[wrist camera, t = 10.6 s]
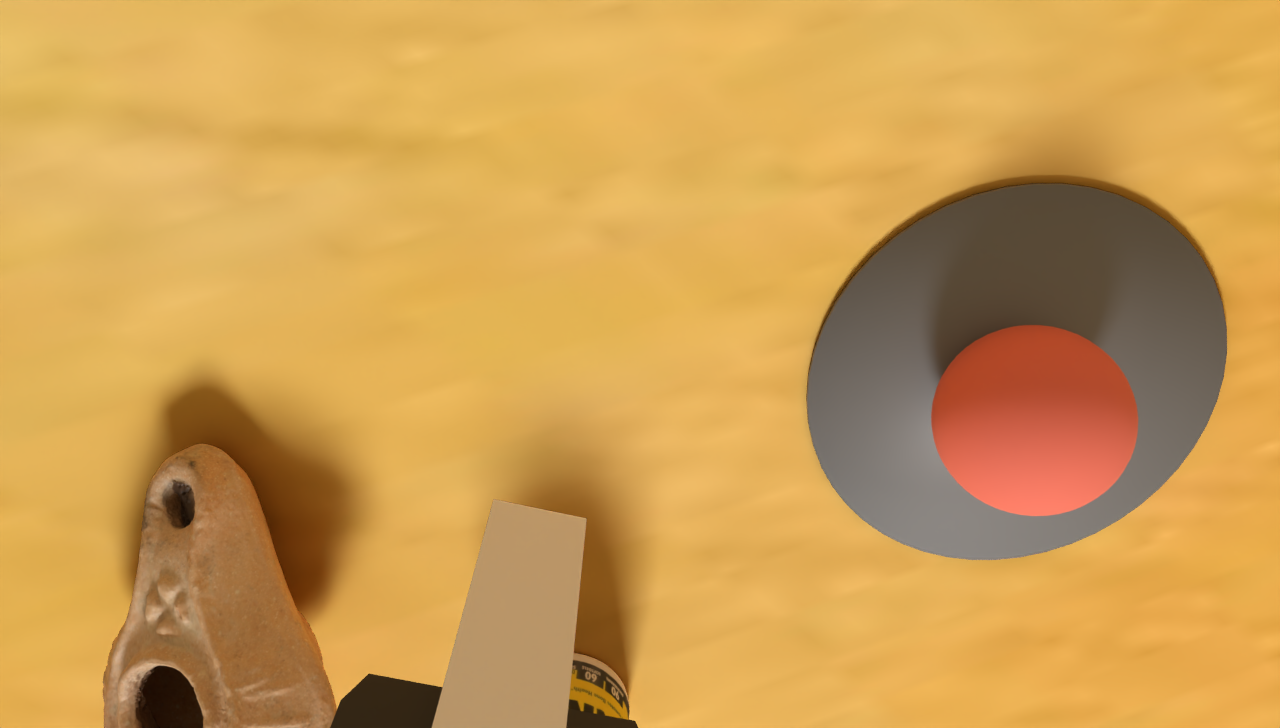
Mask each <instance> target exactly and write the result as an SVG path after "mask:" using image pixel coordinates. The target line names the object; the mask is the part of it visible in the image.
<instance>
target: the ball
mask: <svg viewBox="0 0 1280 728" xmlns="http://www.w3.org/2000/svg"><path fill="white" fill-rule="evenodd" d="M931 426H932V432H933V438H934V442H935V445H936V448H937V451H938V454H939V456H940V458H941V460H942V462H943V463H944V465H945V467H946V468H947V470H948V471H949V473H950V474H951V475H952V476H953V478H954V479H955V480H956V481H957V482H958V483H959V484H960V485H961V486H962V487H963V488H964V489H965V490H966V491H967V492H969V493H970V494H971V495H973V496H974V497H975V498H977V499H979V500H980V501H982V502H984V503H985V504H988V505H990V506H992V507H994V508H997V509H999V510H1003V511H1006V512H1009V513H1014V514H1019V515H1027V516H1048V515H1055V514H1061V513H1065V512H1069V511H1072V510H1074V509H1077V508H1080V507H1082V506H1084V505H1086V504H1088V503H1089V502H1091V501H1093V500H1095V499H1096V498H1098V497H1099V496H1100V495H1102V494H1103V493H1104V492H1106V491H1107V490H1108V489H1109V488H1110V487H1111V486H1112V485H1113V484H1114V483H1115V482H1116V481H1117V480H1118V478H1119V477H1120V476H1121V474H1122V473H1123V471H1124V470H1125V468H1126V466H1127V464H1128V462H1129V461H1130V459H1131V456H1132V454H1133V451H1134V448H1135V444H1136V439H1137V433H1138V412H1137V405H1136V401H1135V398H1134V394H1133V392H1132V389H1131V387H1130V385H1129V382H1128V380H1127V378H1126V377H1125V375H1124V373H1123V372H1122V370H1121V369H1120V367H1119V366H1118V365H1117V364H1116V363H1115V361H1114V360H1113V359H1112V358H1111V357H1110V356H1109V355H1108V354H1107V353H1105V352H1104V351H1103V350H1102V349H1101V348H1099V347H1098V346H1097V345H1095V344H1094V343H1092V342H1091V341H1089V340H1087V339H1086V338H1084V337H1082V336H1080V335H1078V334H1075V333H1073V332H1070V331H1067V330H1064V329H1060V328H1056V327H1052V326H1043V325H1022V326H1013V327H1009V328H1005V329H1001V330H998V331H995V332H993V333H990V334H987V335H985V336H984V337H982V338H980V339H978V340H976V341H974V342H973V343H972V344H970V345H969V346H967V347H966V348H965V349H964V350H963V351H961V352H960V353H959V354H958V355H957V356H956V357H955V359H954V360H953V361H952V362H951V363H950V365H949V366H948V367H947V369H946V370H945V372H944V374H943V375H942V377H941V379H940V381H939V383H938V386H937V388H936V392H935V395H934V399H933V404H932V412H931Z"/></svg>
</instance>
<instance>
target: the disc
mask: <svg viewBox="0 0 1280 728" xmlns="http://www.w3.org/2000/svg"><path fill="white" fill-rule="evenodd" d="M1022 325H1043V326H1052V327H1056V328H1060V329H1064V330H1067V331H1070V332H1073V333H1075V334H1078V335H1080V336H1082V337H1084V338H1086V339H1087V340H1089V341H1091V342H1092V343H1094V344H1095V345H1097V346H1098V347H1099V348H1101V349H1102V350H1103V351H1104V352H1105V353H1107V354H1108V355H1109V356H1110V357H1111V358H1112V359H1113V360H1114V361H1115V363H1116V364H1117V365H1118V366H1119V367H1120V369H1121V370H1122V372H1123V373H1124V375H1125V377H1126V378H1127V380H1128V382H1129V385H1130V387H1131V389H1132V392H1133V394H1134V398H1135V401H1136V405H1137V412H1138V433H1137V439H1136V444H1135V448H1134V451H1133V454H1132V456H1131V459H1130V461H1129V462H1128V464H1127V466H1126V468H1125V470H1124V471H1123V473H1122V474H1121V476H1120V477H1119V478H1118V480H1117V481H1116V482H1115V483H1114V484H1113V485H1112V486H1111V487H1110V488H1109V489H1108V490H1107V491H1106V492H1104V493H1103V494H1102V495H1100V496H1099V497H1098V498H1096V499H1095V500H1093V501H1091V502H1089V503H1088V504H1086V505H1084V506H1082V507H1080V508H1077V509H1074V510H1072V511H1069V512H1065V513H1061V514H1055V515H1048V516H1027V515H1019V514H1014V513H1009V512H1006V511H1003V510H999V509H997V508H994V507H992V506H990V505H988V504H985V503H984V502H982V501H980V500H979V499H977V498H975V497H974V496H973V495H971V494H970V493H969V492H967V491H966V490H965V489H964V488H963V487H962V486H961V485H960V484H959V483H958V482H957V481H956V480H955V479H954V478H953V476H952V475H951V474H950V473H949V471H948V470H947V468H946V467H945V465H944V463H943V462H942V460H941V458H940V456H939V454H938V451H937V448H936V445H935V442H934V438H933V432H932V426H931V412H932V404H933V399H934V395H935V392H936V388H937V386H938V383H939V381H940V379H941V377H942V375H943V374H944V372H945V370H946V369H947V367H948V366H949V365H950V363H951V362H952V361H953V360H954V359H955V357H956V356H957V355H958V354H959V353H960V352H961V351H963V350H964V349H965V348H966V347H967V346H969V345H970V344H972V343H973V342H974V341H976V340H978V339H980V338H982V337H984V336H985V335H987V334H990V333H993V332H995V331H998V330H1001V329H1005V328H1009V327H1013V326H1022ZM1226 355H1227V327H1226V321H1225V316H1224V310H1223V304H1222V301H1221V298H1220V295H1219V292H1218V289H1217V286H1216V284H1215V281H1214V279H1213V277H1212V275H1211V273H1210V271H1209V269H1208V268H1207V266H1206V264H1205V262H1204V260H1203V259H1202V257H1201V256H1200V255H1199V253H1198V252H1197V251H1196V250H1195V248H1194V247H1193V246H1192V245H1191V243H1190V242H1189V241H1188V240H1187V238H1185V237H1184V236H1183V235H1182V234H1181V233H1180V232H1179V231H1178V230H1177V229H1176V228H1174V227H1173V226H1172V225H1171V224H1170V223H1169V222H1168V221H1166V220H1165V219H1163V218H1162V217H1160V216H1159V215H1157V214H1155V213H1154V212H1152V211H1151V210H1149V209H1148V208H1146V207H1144V206H1142V205H1140V204H1138V203H1136V202H1133V201H1131V200H1129V199H1127V198H1124V197H1122V196H1120V195H1117V194H1114V193H1110V192H1107V191H1103V190H1100V189H1096V188H1092V187H1086V186H1079V185H1071V184H1064V183H1032V184H1024V185H1016V186H1008V187H1002V188H998V189H994V190H990V191H986V192H982V193H978V194H975V195H972V196H969V197H967V198H964V199H961V200H959V201H956V202H954V203H951V204H948V205H946V206H944V207H942V208H940V209H938V210H936V211H934V212H932V213H931V214H929V215H927V216H925V217H923V218H921V219H919V220H918V221H916V222H915V223H913V224H912V225H910V226H909V227H907V228H906V229H904V230H903V231H902V232H900V233H899V234H897V235H896V236H894V237H893V238H892V239H891V240H890V241H888V242H887V243H886V244H885V245H884V246H883V247H882V248H880V249H879V250H878V251H877V252H876V253H875V254H874V255H872V256H871V257H870V258H869V260H868V261H867V262H866V263H865V264H864V265H863V266H862V267H861V268H860V269H859V271H858V272H857V273H856V274H855V275H854V276H853V277H852V278H851V280H850V281H849V283H848V284H847V286H846V287H845V288H844V290H843V291H842V293H841V294H840V296H839V297H838V298H837V300H836V301H835V303H834V305H833V307H832V309H831V311H830V313H829V315H828V316H827V318H826V320H825V322H824V324H823V326H822V329H821V332H820V334H819V337H818V340H817V342H816V345H815V348H814V351H813V356H812V360H811V365H810V369H809V373H808V385H807V398H806V399H807V414H808V424H809V429H810V433H811V438H812V442H813V446H814V449H815V451H816V454H817V456H818V459H819V461H820V464H821V467H822V469H823V471H824V472H825V474H826V476H827V478H828V479H829V481H830V483H831V485H832V486H833V488H834V489H835V490H836V492H837V493H838V494H839V495H840V497H841V498H842V499H843V500H844V502H845V503H846V504H847V505H848V506H849V507H850V508H851V509H852V510H853V511H854V512H855V513H856V514H857V515H858V516H859V517H860V518H862V519H863V520H864V521H865V522H867V523H868V524H869V525H871V526H872V527H874V528H875V529H877V530H878V531H879V532H881V533H882V534H884V535H886V536H888V537H890V538H892V539H894V540H896V541H898V542H900V543H902V544H904V545H907V546H910V547H913V548H915V549H918V550H921V551H924V552H928V553H932V554H936V555H941V556H945V557H952V558H960V559H969V560H998V559H1008V558H1017V557H1024V556H1029V555H1033V554H1038V553H1043V552H1047V551H1050V550H1053V549H1056V548H1060V547H1063V546H1066V545H1069V544H1072V543H1074V542H1076V541H1079V540H1081V539H1083V538H1086V537H1088V536H1090V535H1092V534H1095V533H1097V532H1098V531H1100V530H1102V529H1104V528H1106V527H1107V526H1109V525H1111V524H1113V523H1114V522H1116V521H1118V520H1120V519H1121V518H1122V517H1124V516H1125V515H1127V514H1128V513H1130V512H1131V511H1132V510H1134V509H1135V508H1137V507H1138V506H1140V505H1141V504H1142V503H1143V502H1144V501H1145V500H1147V499H1148V498H1149V497H1150V496H1151V495H1152V494H1153V493H1155V492H1156V491H1157V490H1158V489H1159V488H1160V487H1161V486H1162V485H1163V484H1164V483H1165V482H1166V481H1167V480H1168V479H1169V478H1170V477H1171V476H1172V474H1173V473H1174V472H1175V471H1176V470H1177V469H1178V468H1179V467H1180V465H1181V464H1182V463H1183V461H1184V460H1185V459H1186V457H1187V456H1188V455H1189V453H1190V452H1191V450H1192V449H1193V448H1194V446H1195V444H1196V443H1197V441H1198V439H1199V438H1200V436H1201V434H1202V432H1203V431H1204V429H1205V427H1206V425H1207V423H1208V421H1209V419H1210V416H1211V414H1212V412H1213V409H1214V407H1215V404H1216V402H1217V399H1218V395H1219V392H1220V388H1221V385H1222V381H1223V377H1224V370H1225V363H1226Z"/></svg>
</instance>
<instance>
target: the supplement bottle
mask: <svg viewBox="0 0 1280 728" xmlns="http://www.w3.org/2000/svg"><path fill="white" fill-rule="evenodd" d="M568 709H574V710H579V711H584V712H590V713H595V714H600V715H606V716H611V717H616V718H622V719H627V720H629V701H628V695H627V692H626V689H625V686H624V684H623V683H622V681H621V679H620V678H619V676H618V675H617V674H616V673H615V672H614V671H613V670H612V669H611V668H610V667H608V666H607V665H606V664H604V663H603V662H601V661H599V660H597V659H595V658H592V657H589V656H586V655H582V654H577V653H574V654H573V664H572V674H571V684H570V694H569V705H568Z"/></svg>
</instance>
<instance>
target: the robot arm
mask: <svg viewBox="0 0 1280 728" xmlns="http://www.w3.org/2000/svg"><path fill="white" fill-rule="evenodd" d="M586 521H587V518H583V517H578V516H573V515H568V514H563V513H558V512H554V511H549V510H544V509H539V508H534V507H529V506H525V505H520V504H515V503H510V502H505V501H500V500H496V499H494V500H493V504H492V507H491V511H490V515H489V518H488V522H487V526H486V529H485V533H484V537H483V540H482V544H481V548H480V552H479V555H478V559H477V563H476V566H475V570H474V574H473V577H472V581H471V585H470V588H469V592H468V596H467V599H466V603H465V607H464V610H463V614H462V618H461V622H460V625H459V629H458V633H457V636H456V640H455V644H454V647H453V651H452V655H451V658H450V662H449V666H448V669H447V673H446V677H445V681H444V684H443V687H437V686H432V685H427V684H421V683H416V682H410V681H405V680H400V679H394V678H389V677H384V676H378V675H373V674H368V675H367V676H366V677H365V678H364V679H363V680H362V681H361V682H360V683H359V684H358V685H357V686H356V687H354V688H353V689H352V690H351V691H350V692H349V693H348V694H347V695H346V696H345V697H344V698H343V699H342V700H341V701H340V704H339V706H338V709H337V711H336V714H335V716H334V719H333V721H332V724H331V726H330V728H638V726H637V724H636V722H635V721H632V720H627V719H622V718H616V717H611V716H606V715H600V714H595V713H590V712H584V711H579V710H574V709H568V705H569V694H570V684H571V674H572V664H573V654H574V643H575V633H576V623H577V613H578V603H579V592H580V582H581V572H582V562H583V552H584V541H585V531H586Z"/></svg>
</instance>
